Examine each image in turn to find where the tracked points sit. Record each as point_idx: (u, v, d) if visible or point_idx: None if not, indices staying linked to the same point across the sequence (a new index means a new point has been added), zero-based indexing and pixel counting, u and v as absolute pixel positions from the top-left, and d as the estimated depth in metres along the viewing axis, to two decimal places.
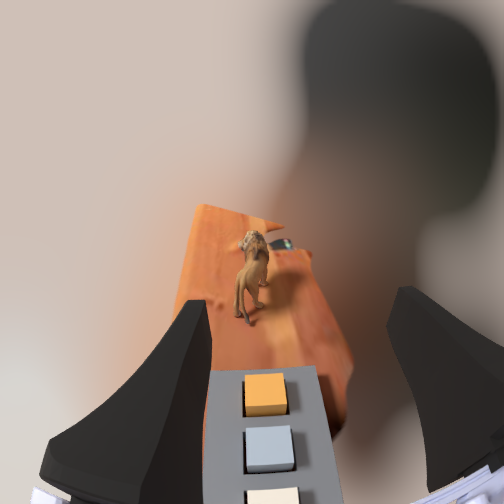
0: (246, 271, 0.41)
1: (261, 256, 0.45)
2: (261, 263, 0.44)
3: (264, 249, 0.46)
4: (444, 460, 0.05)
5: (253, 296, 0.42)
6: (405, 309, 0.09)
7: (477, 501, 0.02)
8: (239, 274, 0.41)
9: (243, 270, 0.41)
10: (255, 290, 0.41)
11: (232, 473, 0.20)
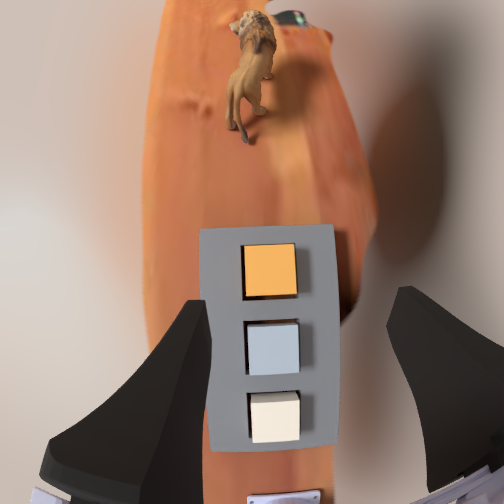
0: (244, 74, 0.23)
1: (266, 47, 0.24)
2: (265, 57, 0.24)
3: (270, 37, 0.24)
4: (444, 460, 0.05)
5: (253, 104, 0.27)
6: (405, 309, 0.09)
7: (477, 501, 0.02)
8: (233, 78, 0.23)
9: (239, 72, 0.23)
10: (256, 97, 0.25)
11: (234, 373, 0.23)
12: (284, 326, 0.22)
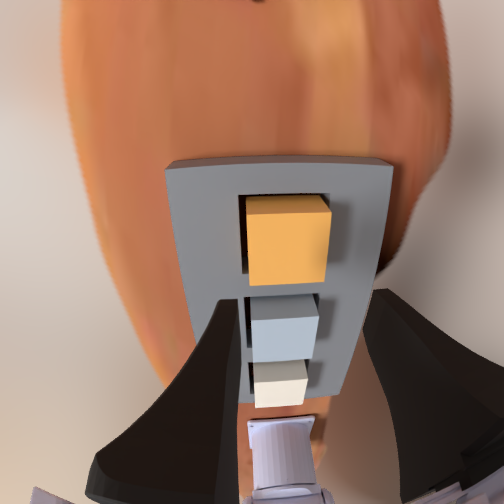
0: None
1: None
2: None
3: None
4: (416, 472, 0.05)
5: None
6: (379, 313, 0.09)
7: (477, 501, 0.02)
8: None
9: None
10: None
11: None
12: (301, 318, 0.16)
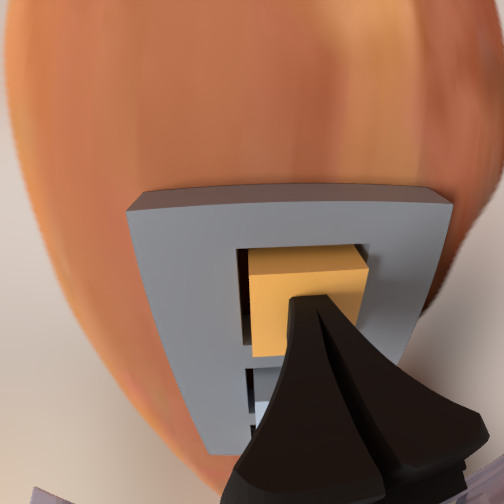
0: None
1: None
2: None
3: None
4: None
5: None
6: None
7: (477, 501, 0.02)
8: None
9: None
10: None
11: (232, 413, 0.15)
12: None
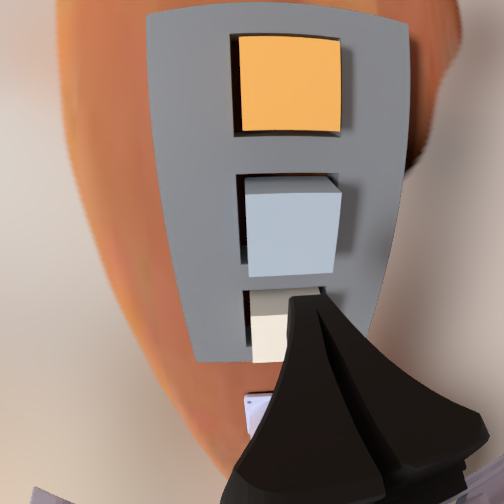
0: None
1: None
2: None
3: None
4: None
5: None
6: None
7: (477, 501, 0.02)
8: None
9: None
10: None
11: (222, 263, 0.15)
12: (316, 194, 0.11)
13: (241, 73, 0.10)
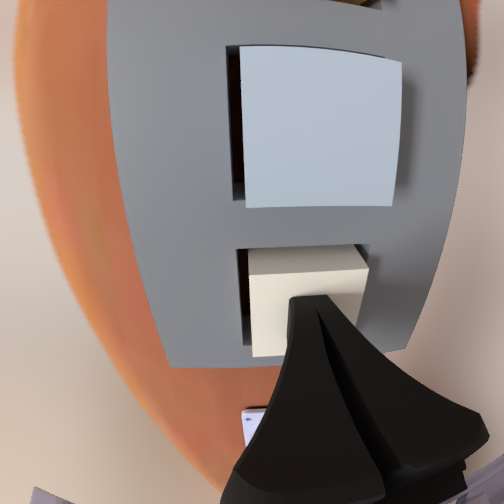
0: None
1: None
2: None
3: None
4: None
5: None
6: None
7: (477, 501, 0.02)
8: None
9: None
10: None
11: (202, 199, 0.09)
12: (363, 57, 0.05)
13: None
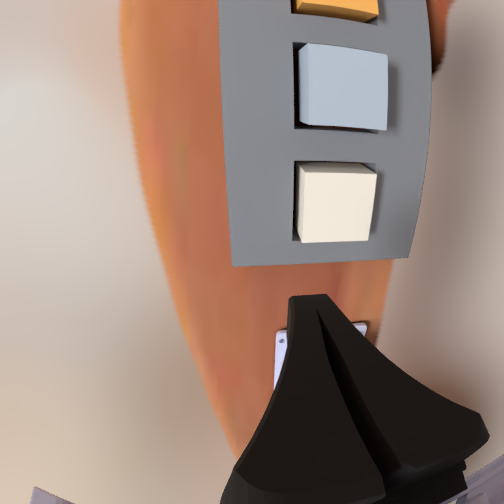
0: None
1: None
2: None
3: None
4: None
5: None
6: None
7: (477, 501, 0.02)
8: None
9: None
10: None
11: (275, 127, 0.14)
12: (367, 52, 0.10)
13: None
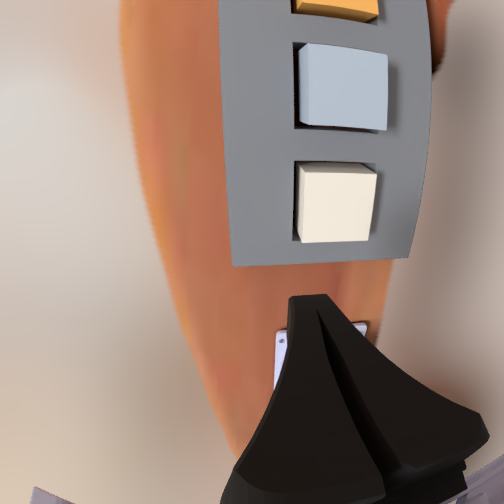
0: None
1: None
2: None
3: None
4: None
5: None
6: None
7: (477, 501, 0.02)
8: None
9: None
10: None
11: (275, 127, 0.14)
12: (367, 52, 0.10)
13: None
